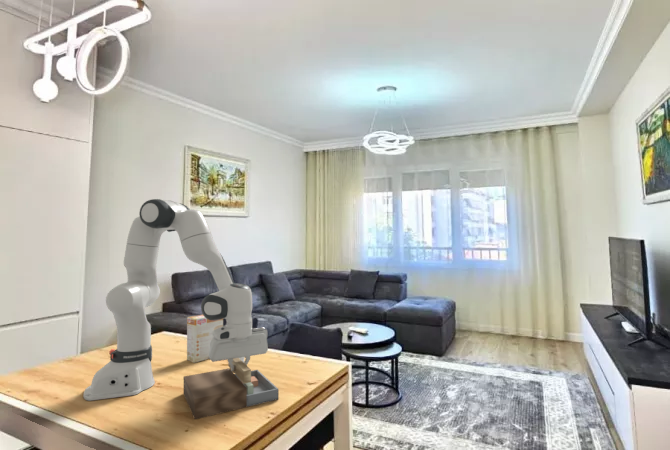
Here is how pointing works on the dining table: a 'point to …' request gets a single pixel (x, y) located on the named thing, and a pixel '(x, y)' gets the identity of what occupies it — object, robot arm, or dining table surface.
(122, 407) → the dining table surface
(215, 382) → the walnut platform
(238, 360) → the bar
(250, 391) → the sage tile
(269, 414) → the dining table surface
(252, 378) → the terracotta tile
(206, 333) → the coffeecake box
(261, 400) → the box
